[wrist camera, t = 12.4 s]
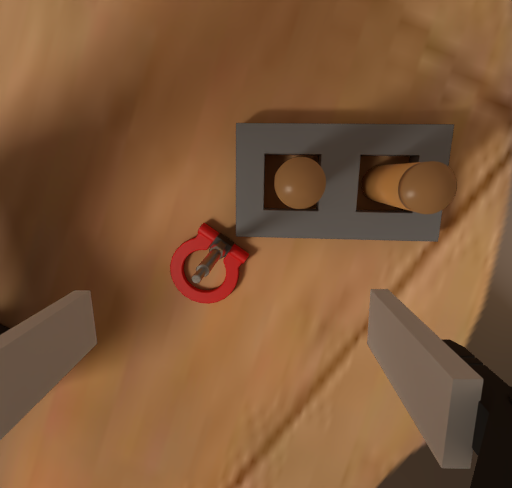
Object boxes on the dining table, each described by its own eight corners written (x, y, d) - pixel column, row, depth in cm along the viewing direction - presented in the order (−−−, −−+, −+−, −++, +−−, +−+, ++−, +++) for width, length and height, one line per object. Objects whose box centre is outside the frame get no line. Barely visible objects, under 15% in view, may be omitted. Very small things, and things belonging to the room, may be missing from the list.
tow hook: (215, 311, 41) (257, 256, 39) (185, 376, 29) (243, 300, 26) (161, 274, 41) (199, 216, 38) (106, 324, 28) (158, 242, 26)
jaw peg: (271, 193, 37) (269, 202, 25) (278, 158, 36) (280, 151, 25) (304, 201, 37) (318, 213, 25) (313, 166, 36) (331, 163, 24)
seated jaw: (360, 201, 37) (400, 213, 25) (363, 165, 36) (405, 160, 24) (395, 201, 36) (452, 214, 25) (399, 165, 36) (460, 161, 24)
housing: (238, 232, 38) (236, 236, 36) (238, 126, 36) (236, 123, 33) (427, 237, 37) (437, 241, 35) (441, 127, 35) (454, 124, 32)
